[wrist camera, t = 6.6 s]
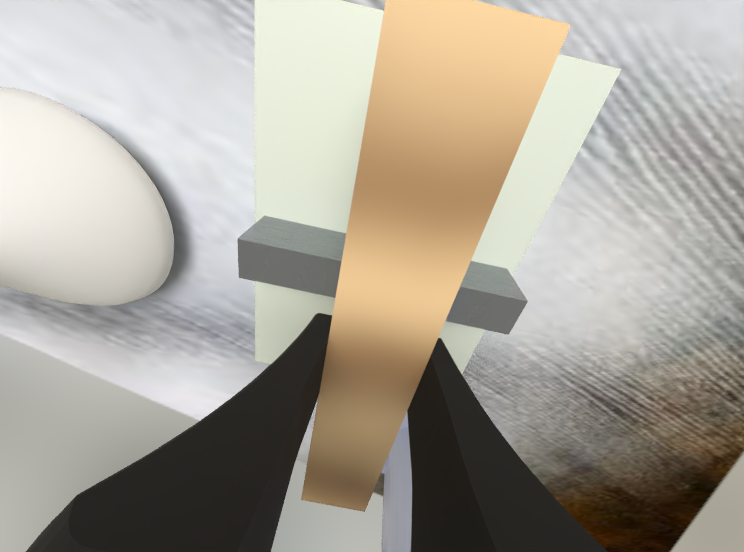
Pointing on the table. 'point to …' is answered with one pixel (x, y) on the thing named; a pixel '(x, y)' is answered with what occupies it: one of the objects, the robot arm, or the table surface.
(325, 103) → the balance stand
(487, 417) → the robot arm
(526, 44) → the wooden block
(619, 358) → the table surface
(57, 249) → the flower in vase
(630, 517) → the table surface
